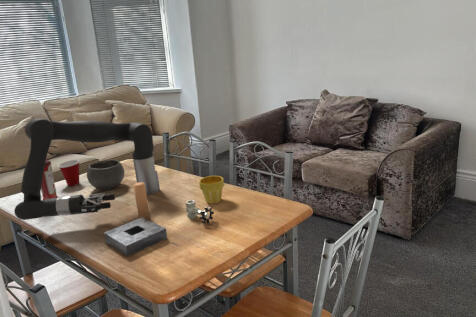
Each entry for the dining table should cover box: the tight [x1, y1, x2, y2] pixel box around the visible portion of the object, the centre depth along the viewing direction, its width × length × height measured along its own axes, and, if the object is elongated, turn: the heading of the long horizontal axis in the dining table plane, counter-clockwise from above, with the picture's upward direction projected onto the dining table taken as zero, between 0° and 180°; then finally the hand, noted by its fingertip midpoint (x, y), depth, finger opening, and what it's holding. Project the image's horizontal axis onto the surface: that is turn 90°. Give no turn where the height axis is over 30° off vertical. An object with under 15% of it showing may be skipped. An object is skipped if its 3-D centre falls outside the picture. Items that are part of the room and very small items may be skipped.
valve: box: [185, 199, 215, 224], centre depth 163 cm, size 7×7×12 cm
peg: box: [132, 182, 151, 221], centre depth 167 cm, size 4×4×15 cm
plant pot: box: [198, 175, 225, 205], centre depth 180 cm, size 10×10×10 cm
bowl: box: [86, 159, 125, 191], centre depth 208 cm, size 18×18×13 cm
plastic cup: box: [57, 159, 81, 187], centre depth 217 cm, size 11×11×12 cm
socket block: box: [103, 217, 168, 257], centre depth 151 cm, size 16×16×4 cm
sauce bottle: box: [40, 159, 59, 200], centre depth 194 cm, size 7×7×28 cm
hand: (112, 200), depth 165 cm, fingers open, 8 cm apart
